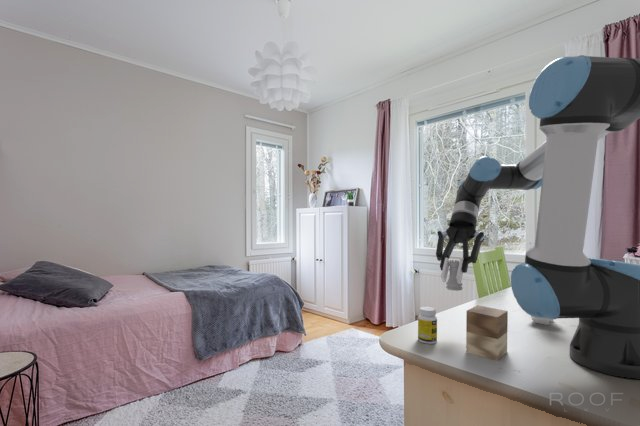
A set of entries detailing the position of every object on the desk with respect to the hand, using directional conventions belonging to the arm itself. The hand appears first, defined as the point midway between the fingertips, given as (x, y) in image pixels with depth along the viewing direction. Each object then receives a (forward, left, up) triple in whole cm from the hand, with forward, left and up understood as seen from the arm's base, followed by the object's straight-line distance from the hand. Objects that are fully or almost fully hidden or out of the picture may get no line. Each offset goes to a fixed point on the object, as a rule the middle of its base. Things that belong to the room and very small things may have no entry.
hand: (450, 279), depth 93 cm
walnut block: (-12, +2, -10) cm, 16 cm away
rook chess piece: (+2, -4, -4) cm, 5 cm away
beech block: (-12, +2, -15) cm, 19 cm away
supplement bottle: (0, +9, -15) cm, 18 cm away
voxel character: (-7, -33, -15) cm, 37 cm away
